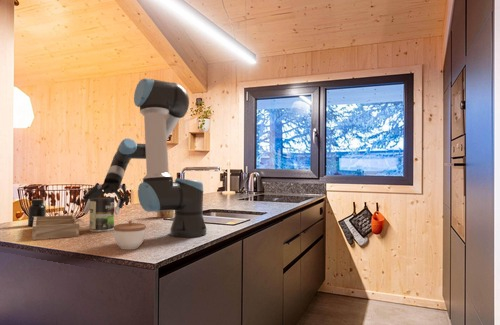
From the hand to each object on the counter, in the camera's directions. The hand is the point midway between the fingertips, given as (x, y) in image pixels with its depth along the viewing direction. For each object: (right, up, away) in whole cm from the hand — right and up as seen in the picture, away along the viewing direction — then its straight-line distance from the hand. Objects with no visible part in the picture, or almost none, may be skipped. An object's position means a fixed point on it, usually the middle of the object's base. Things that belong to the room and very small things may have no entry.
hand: (100, 213), depth 157 cm
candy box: (+19, -8, +41) cm, 45 cm away
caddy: (-16, -7, -6) cm, 19 cm away
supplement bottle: (-33, -7, +8) cm, 35 cm away
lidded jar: (+23, -8, -31) cm, 39 cm away
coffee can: (0, -8, +1) cm, 8 cm away
